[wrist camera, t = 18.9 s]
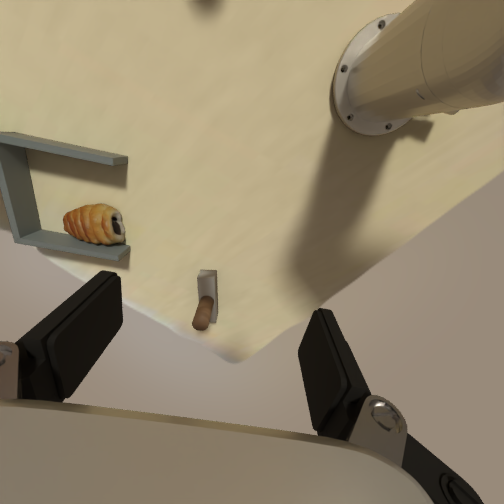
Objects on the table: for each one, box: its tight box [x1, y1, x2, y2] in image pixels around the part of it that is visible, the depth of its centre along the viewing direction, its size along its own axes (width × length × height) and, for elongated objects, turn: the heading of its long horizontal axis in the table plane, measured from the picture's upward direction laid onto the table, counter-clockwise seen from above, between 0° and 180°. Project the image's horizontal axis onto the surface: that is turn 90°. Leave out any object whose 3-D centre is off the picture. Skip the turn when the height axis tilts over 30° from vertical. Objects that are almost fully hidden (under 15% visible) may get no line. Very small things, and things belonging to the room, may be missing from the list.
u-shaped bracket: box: [0, 132, 130, 261], centre depth 35 cm, size 16×16×4 cm
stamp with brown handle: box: [192, 270, 218, 331], centre depth 41 cm, size 3×10×9 cm, turn 178°
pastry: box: [63, 204, 125, 245], centre depth 37 cm, size 9×7×4 cm
